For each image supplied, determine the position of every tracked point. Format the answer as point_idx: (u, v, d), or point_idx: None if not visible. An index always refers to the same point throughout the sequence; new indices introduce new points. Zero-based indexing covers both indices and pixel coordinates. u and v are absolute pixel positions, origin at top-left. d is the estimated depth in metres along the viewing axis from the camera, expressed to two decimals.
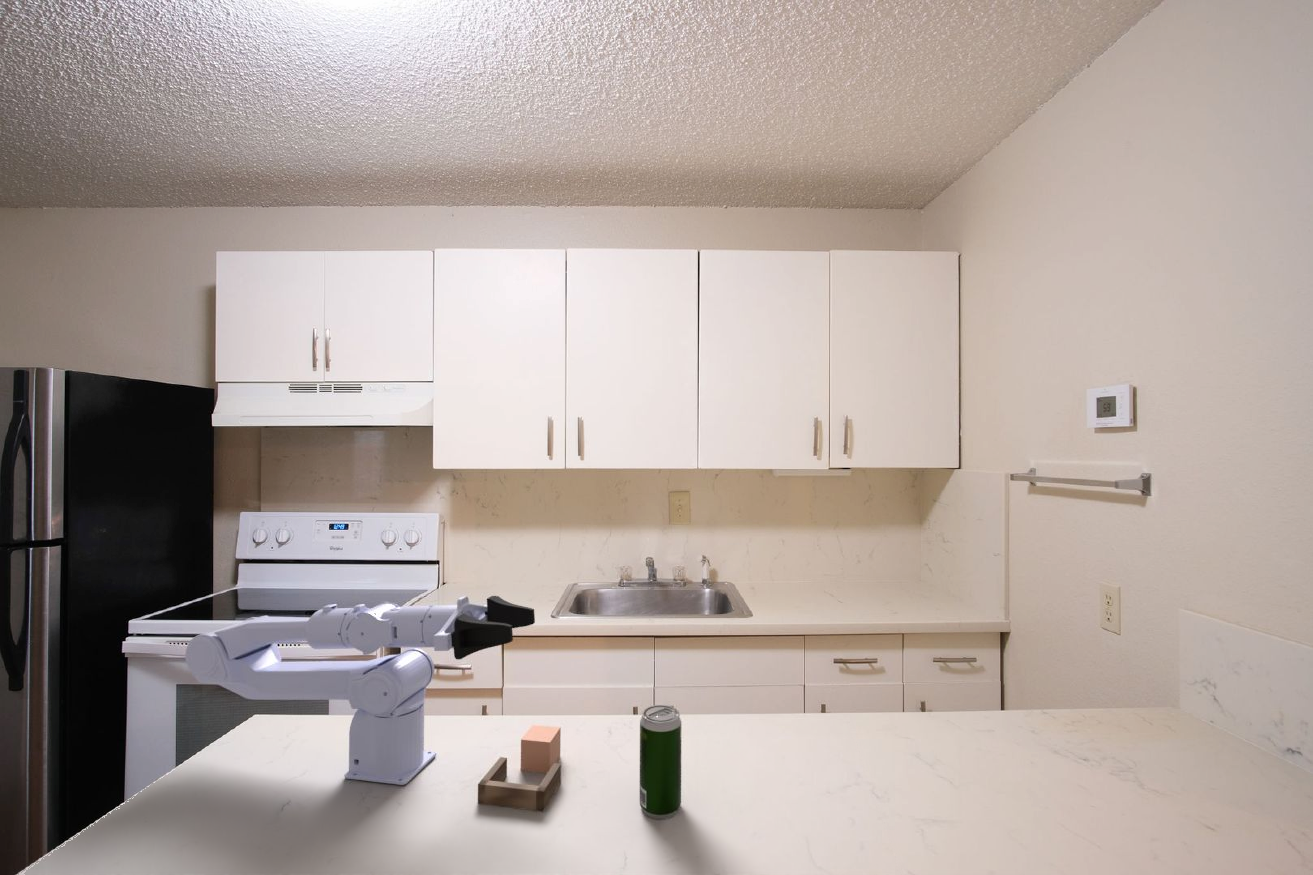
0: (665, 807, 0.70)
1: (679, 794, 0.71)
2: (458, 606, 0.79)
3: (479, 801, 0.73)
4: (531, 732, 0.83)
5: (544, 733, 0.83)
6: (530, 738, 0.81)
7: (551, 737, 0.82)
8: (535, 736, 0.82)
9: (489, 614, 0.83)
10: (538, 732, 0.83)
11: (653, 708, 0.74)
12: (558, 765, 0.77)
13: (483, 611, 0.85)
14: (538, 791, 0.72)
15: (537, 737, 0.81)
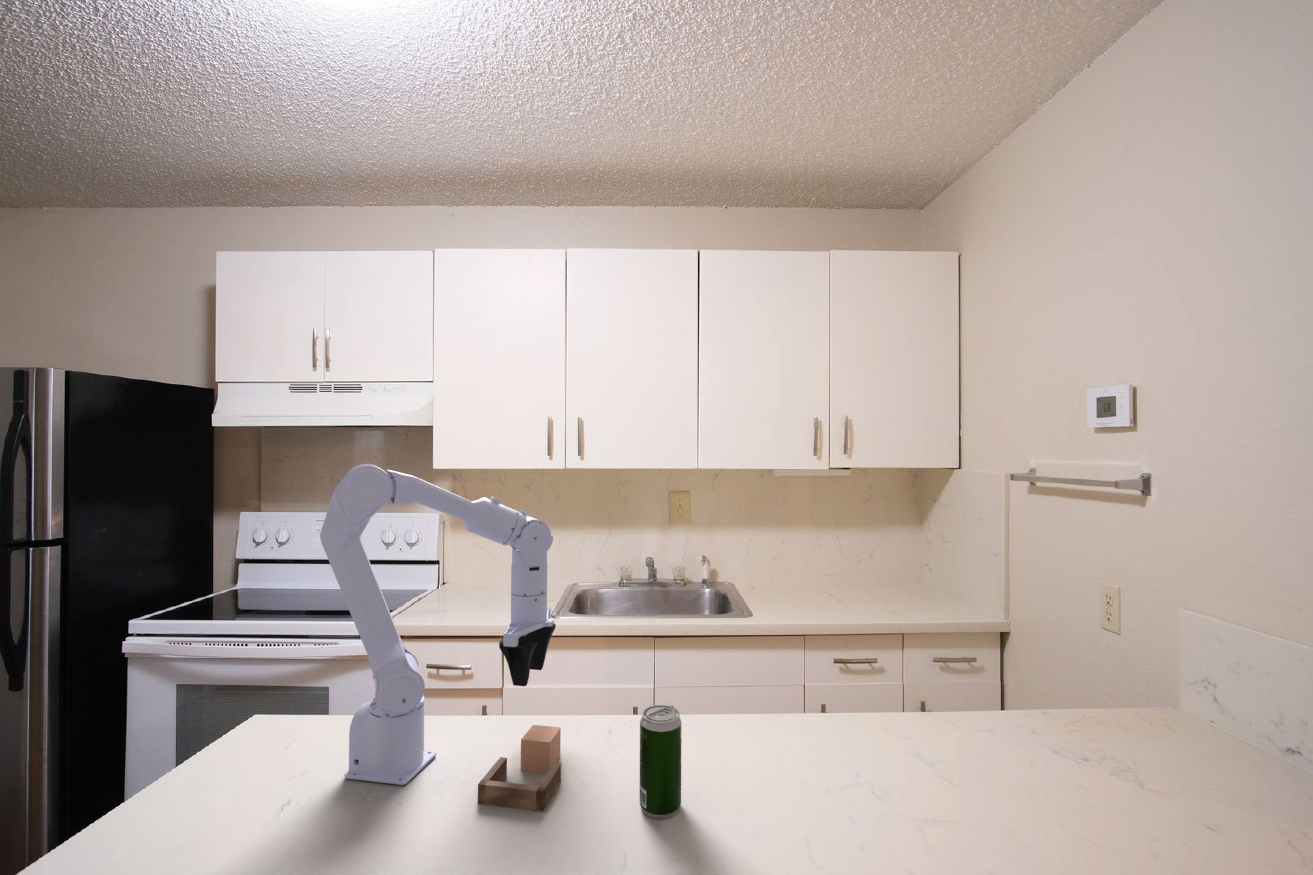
0: (665, 807, 0.70)
1: (679, 794, 0.71)
2: (544, 623, 0.89)
3: (479, 801, 0.73)
4: (531, 732, 0.83)
5: (544, 733, 0.83)
6: (530, 738, 0.81)
7: (551, 737, 0.82)
8: (535, 736, 0.82)
9: None
10: (538, 732, 0.83)
11: (653, 708, 0.74)
12: (558, 765, 0.77)
13: None
14: (538, 791, 0.72)
15: (537, 737, 0.81)
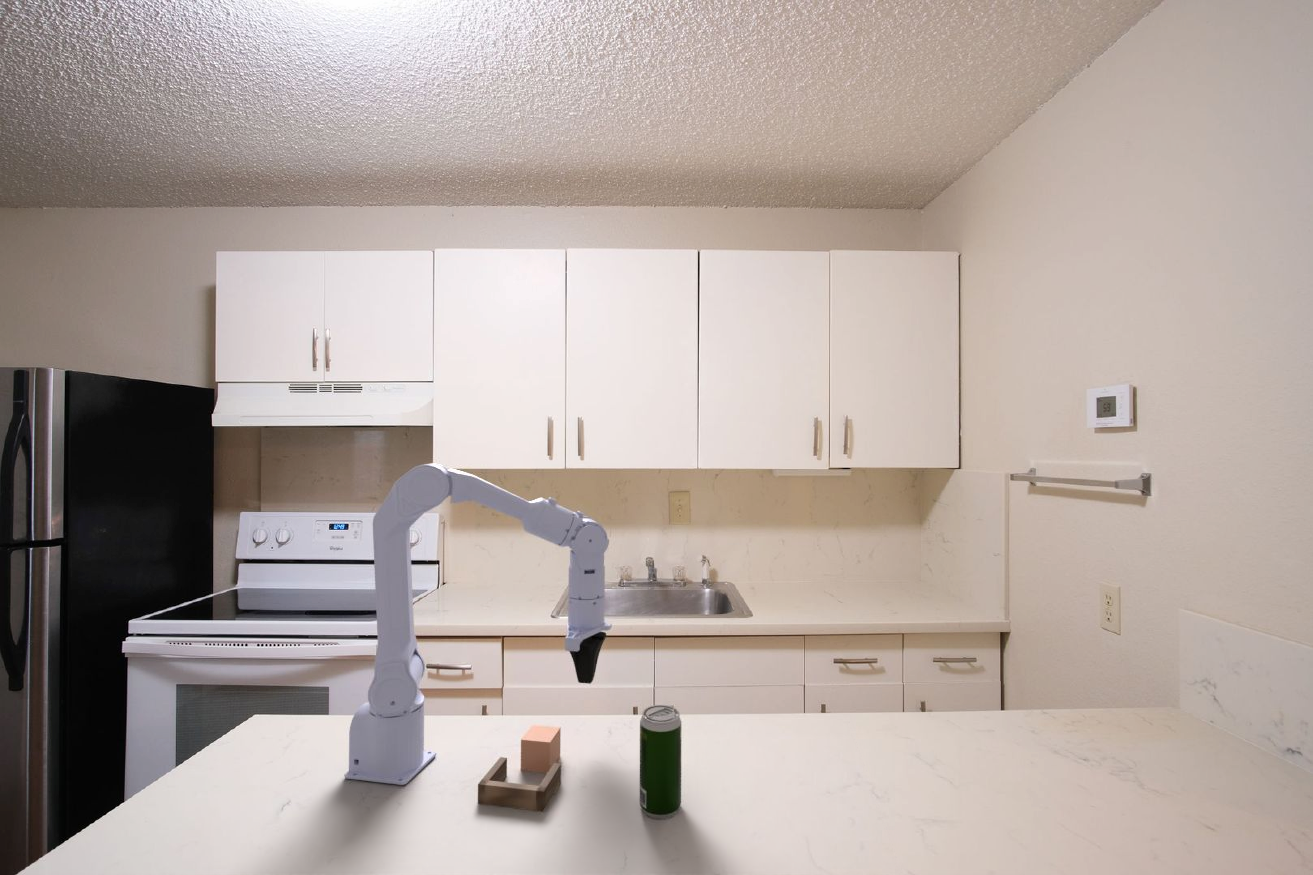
0: (665, 807, 0.70)
1: (679, 794, 0.71)
2: (602, 627, 0.88)
3: (479, 801, 0.73)
4: (531, 732, 0.83)
5: (544, 733, 0.83)
6: (530, 738, 0.81)
7: (551, 737, 0.82)
8: (535, 736, 0.82)
9: None
10: (538, 732, 0.83)
11: (653, 708, 0.74)
12: (558, 765, 0.77)
13: None
14: (538, 791, 0.72)
15: (537, 737, 0.81)
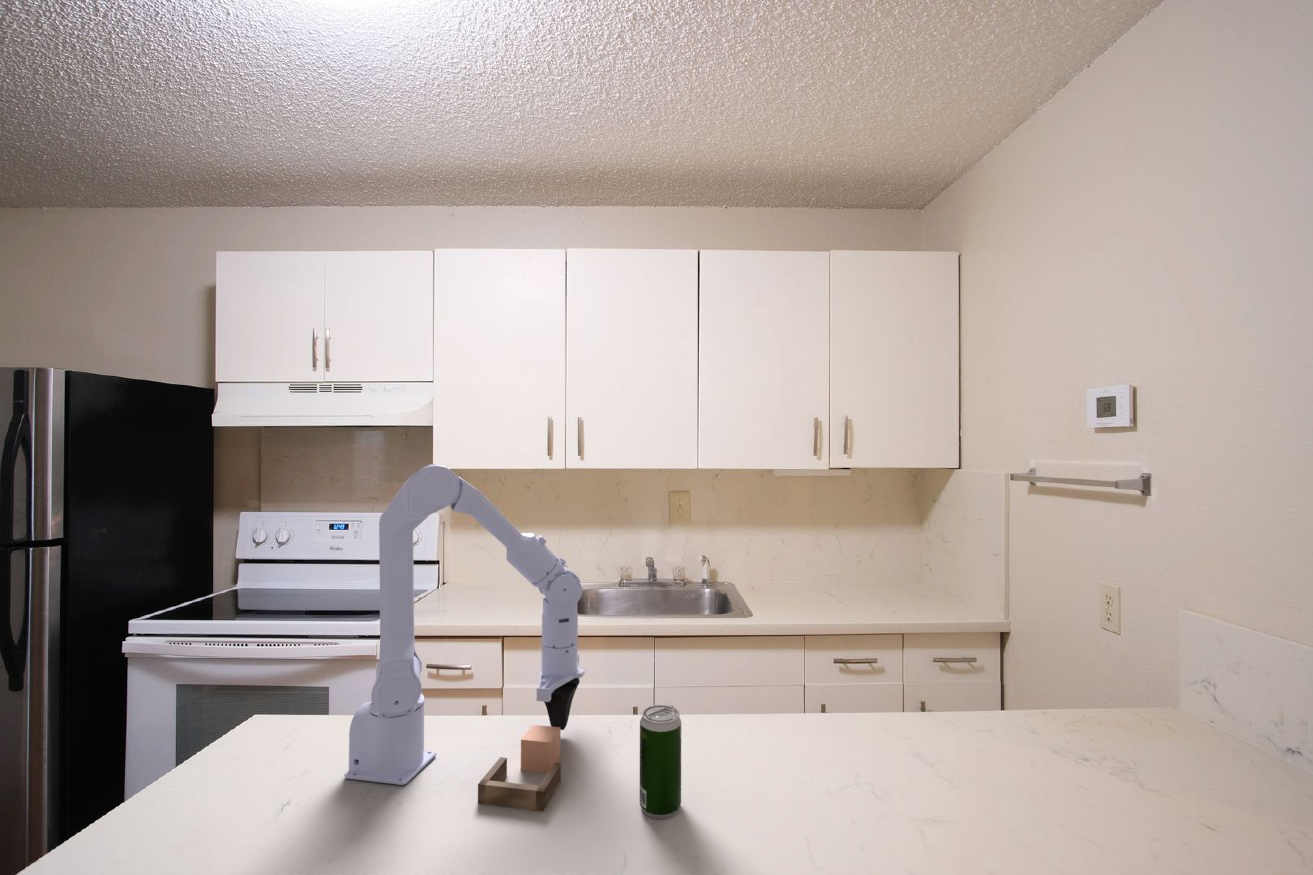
0: (665, 807, 0.70)
1: (679, 794, 0.71)
2: (575, 675, 0.89)
3: (479, 801, 0.73)
4: (531, 732, 0.83)
5: (544, 733, 0.83)
6: (530, 738, 0.81)
7: (551, 737, 0.82)
8: (535, 736, 0.82)
9: None
10: (538, 732, 0.83)
11: (653, 708, 0.74)
12: (558, 765, 0.77)
13: None
14: (538, 791, 0.72)
15: (537, 737, 0.81)
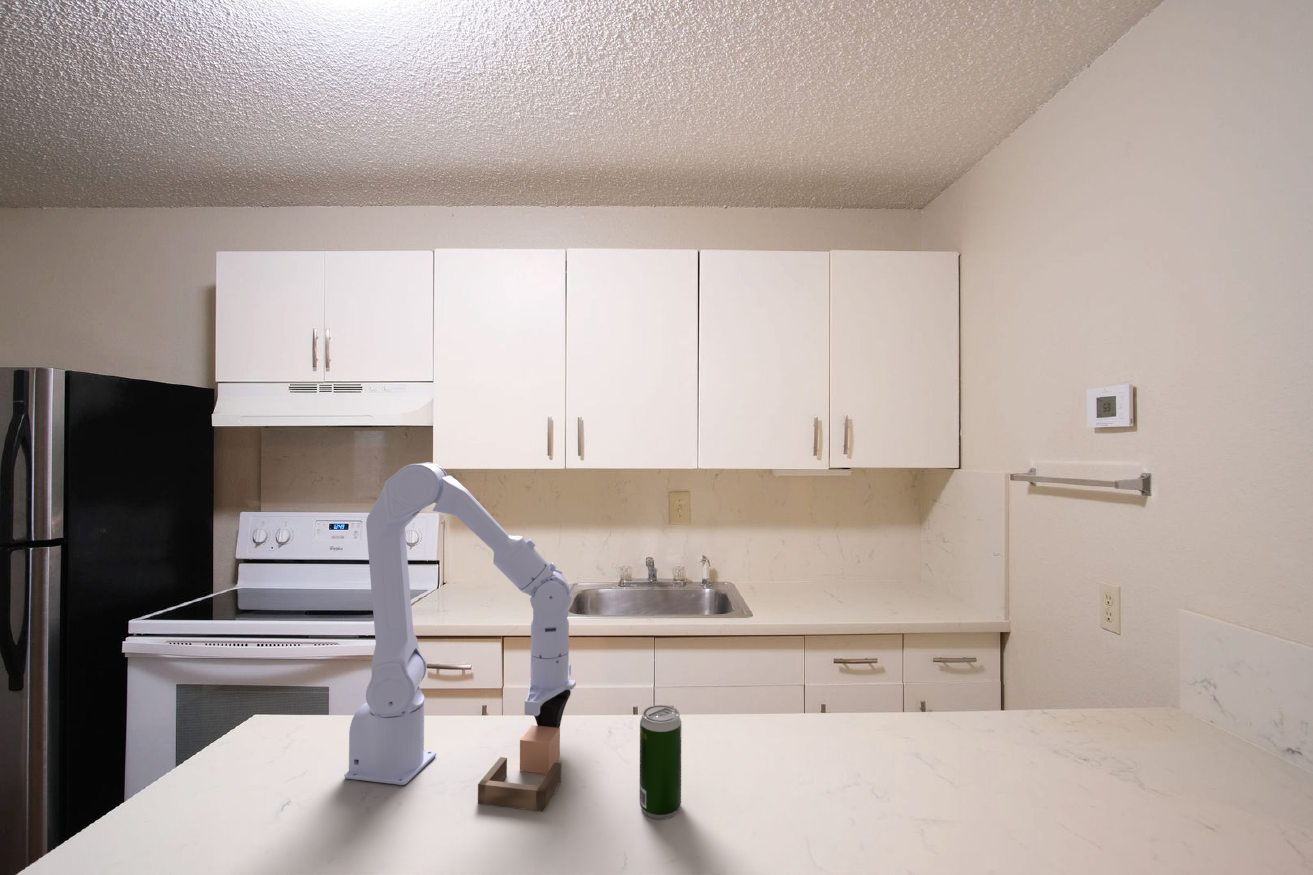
0: (665, 807, 0.70)
1: (679, 794, 0.71)
2: (566, 686, 0.84)
3: (479, 801, 0.73)
4: (530, 733, 0.82)
5: (543, 733, 0.82)
6: (530, 738, 0.81)
7: (550, 737, 0.81)
8: (534, 736, 0.81)
9: None
10: (537, 732, 0.83)
11: (653, 708, 0.74)
12: (558, 765, 0.77)
13: None
14: (538, 791, 0.72)
15: (537, 738, 0.81)
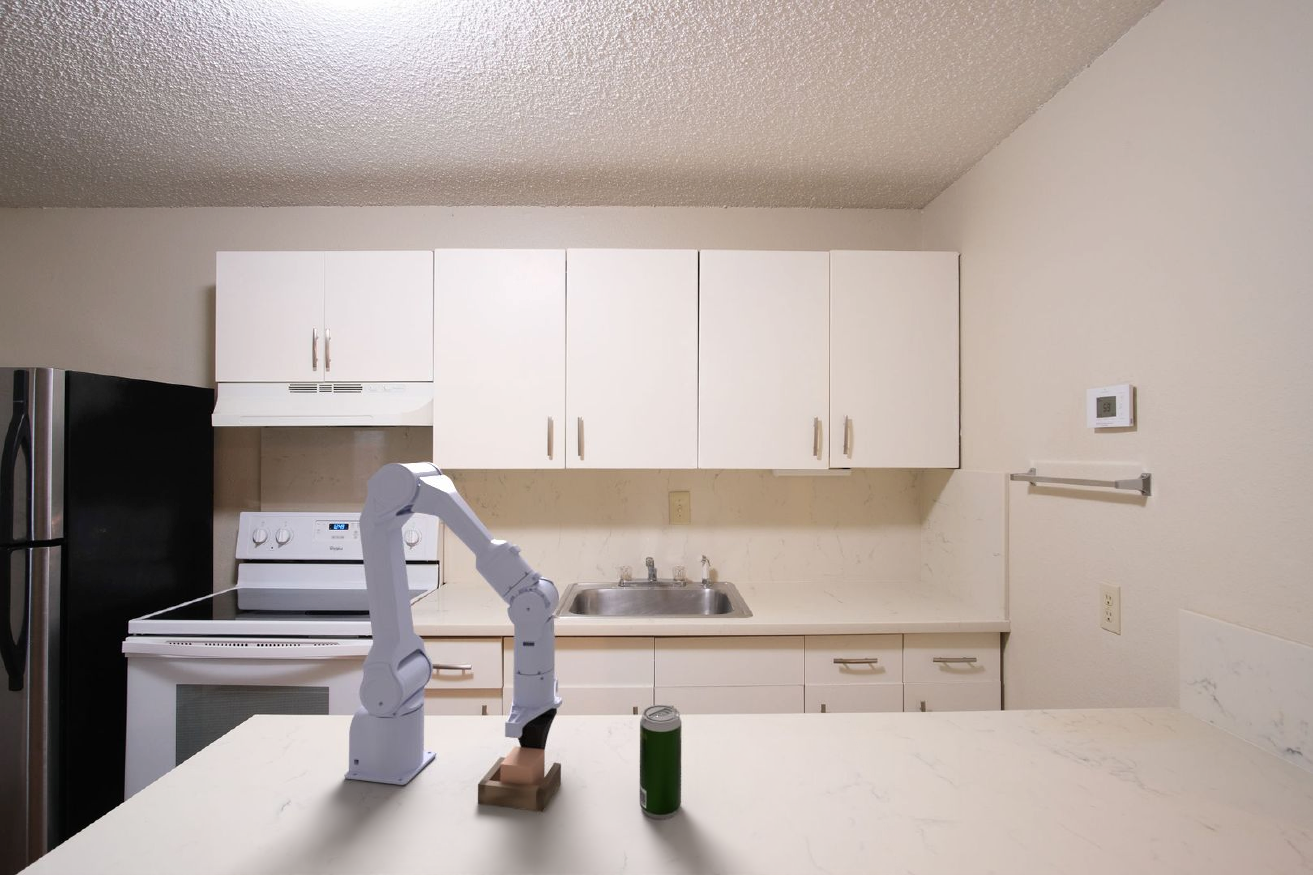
0: (665, 807, 0.70)
1: (679, 794, 0.71)
2: (551, 705, 0.78)
3: (479, 801, 0.73)
4: (512, 755, 0.76)
5: (526, 756, 0.76)
6: (511, 762, 0.75)
7: (533, 761, 0.75)
8: (516, 760, 0.75)
9: None
10: (520, 755, 0.76)
11: (653, 708, 0.74)
12: (558, 765, 0.77)
13: None
14: (538, 791, 0.72)
15: (519, 761, 0.75)
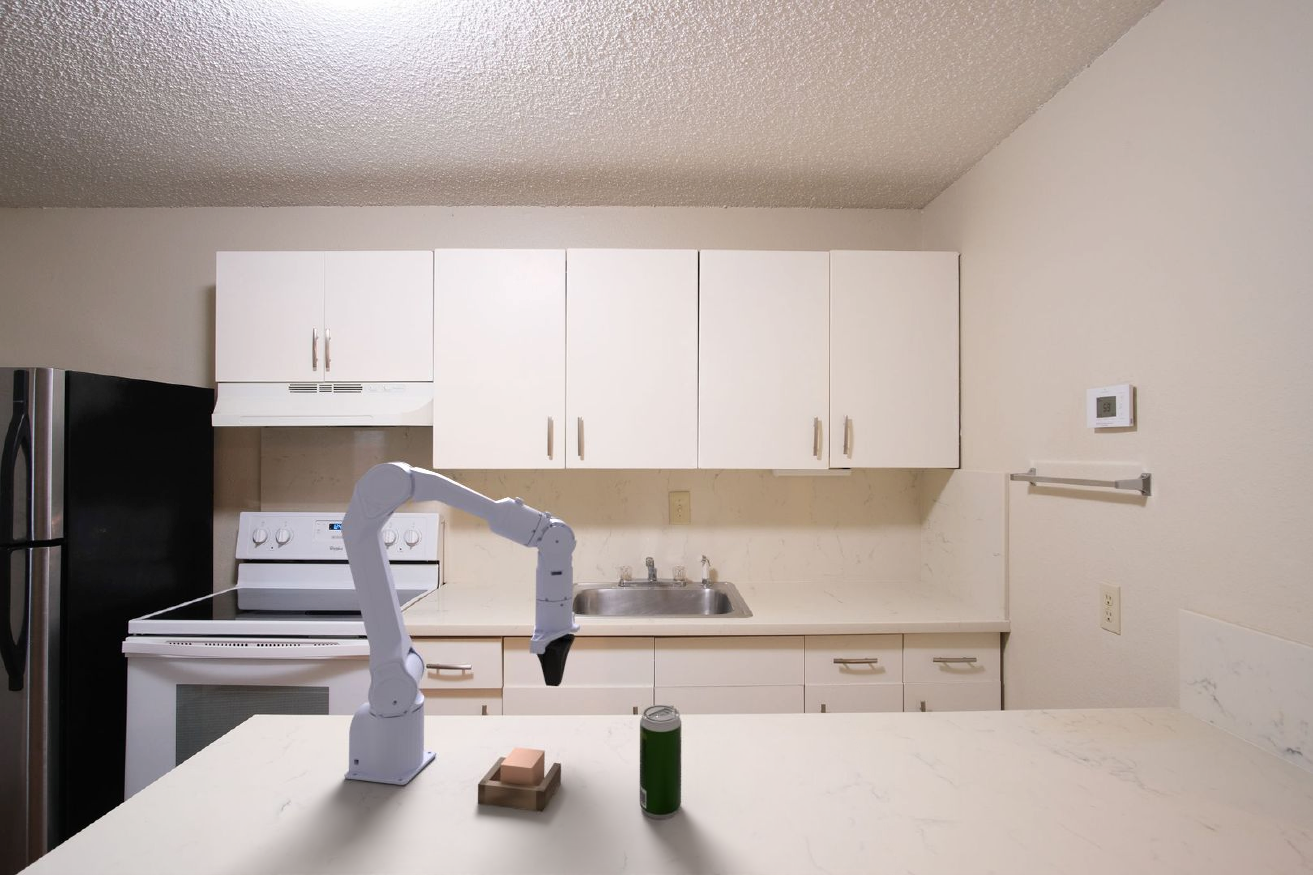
0: (665, 807, 0.70)
1: (679, 794, 0.71)
2: (570, 629, 0.86)
3: (479, 801, 0.73)
4: (512, 756, 0.76)
5: (526, 757, 0.76)
6: (511, 762, 0.75)
7: (533, 761, 0.75)
8: (516, 760, 0.75)
9: None
10: (520, 756, 0.76)
11: (653, 708, 0.74)
12: (558, 765, 0.77)
13: None
14: (538, 791, 0.72)
15: (519, 762, 0.75)
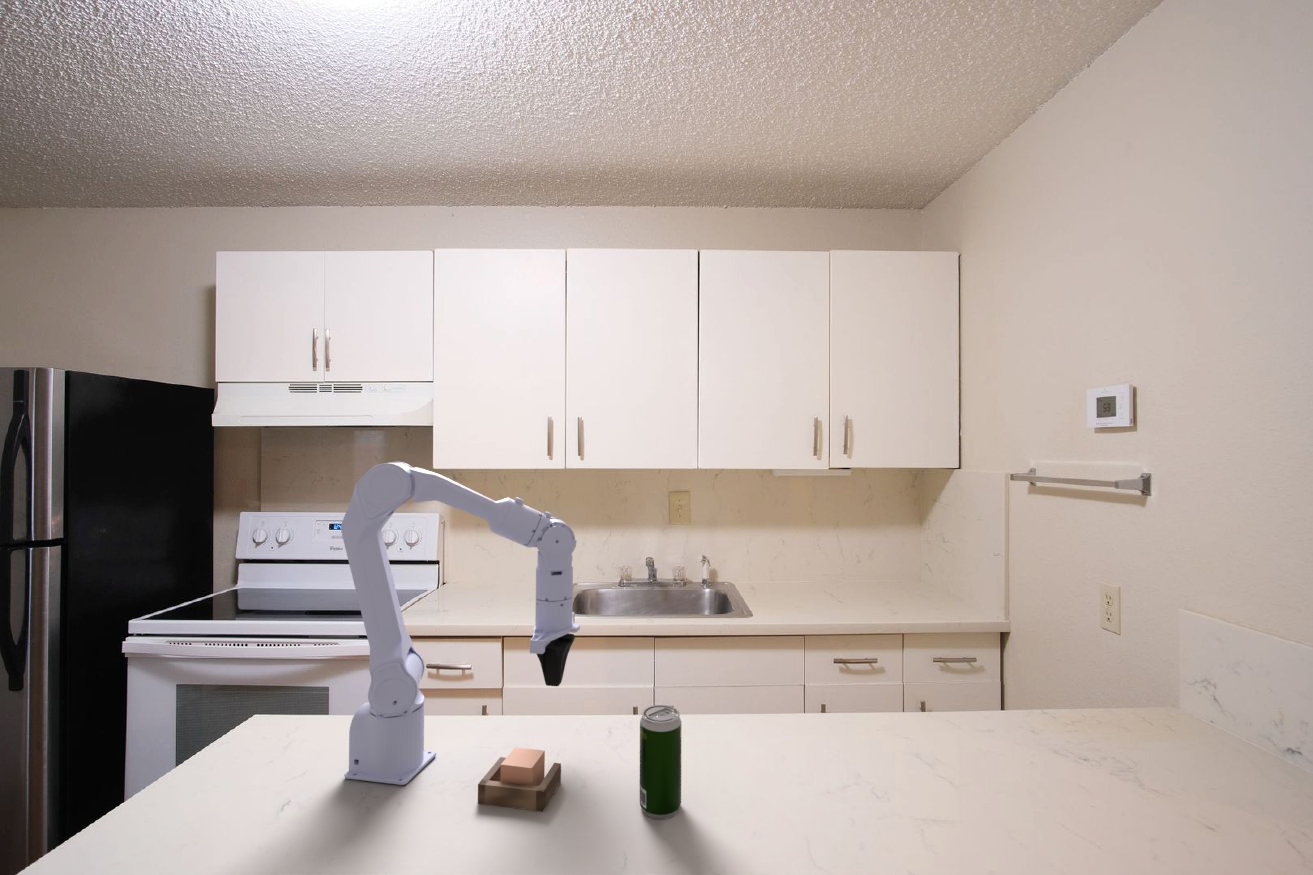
0: (665, 807, 0.70)
1: (679, 794, 0.71)
2: (570, 629, 0.86)
3: (479, 801, 0.73)
4: (512, 756, 0.76)
5: (527, 757, 0.76)
6: (511, 762, 0.75)
7: (533, 761, 0.75)
8: (516, 760, 0.75)
9: None
10: (520, 756, 0.76)
11: (653, 708, 0.74)
12: (558, 765, 0.77)
13: None
14: (538, 791, 0.72)
15: (519, 762, 0.75)
